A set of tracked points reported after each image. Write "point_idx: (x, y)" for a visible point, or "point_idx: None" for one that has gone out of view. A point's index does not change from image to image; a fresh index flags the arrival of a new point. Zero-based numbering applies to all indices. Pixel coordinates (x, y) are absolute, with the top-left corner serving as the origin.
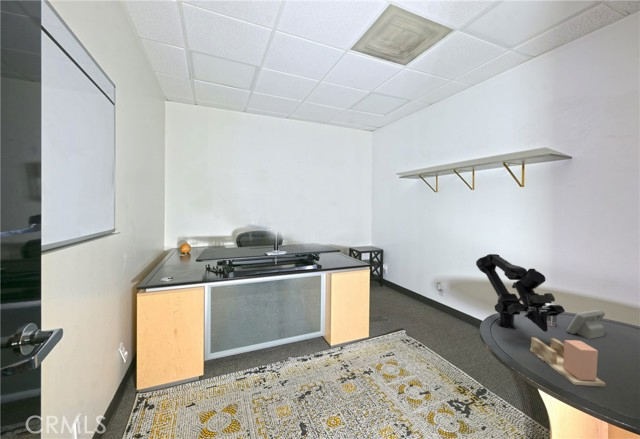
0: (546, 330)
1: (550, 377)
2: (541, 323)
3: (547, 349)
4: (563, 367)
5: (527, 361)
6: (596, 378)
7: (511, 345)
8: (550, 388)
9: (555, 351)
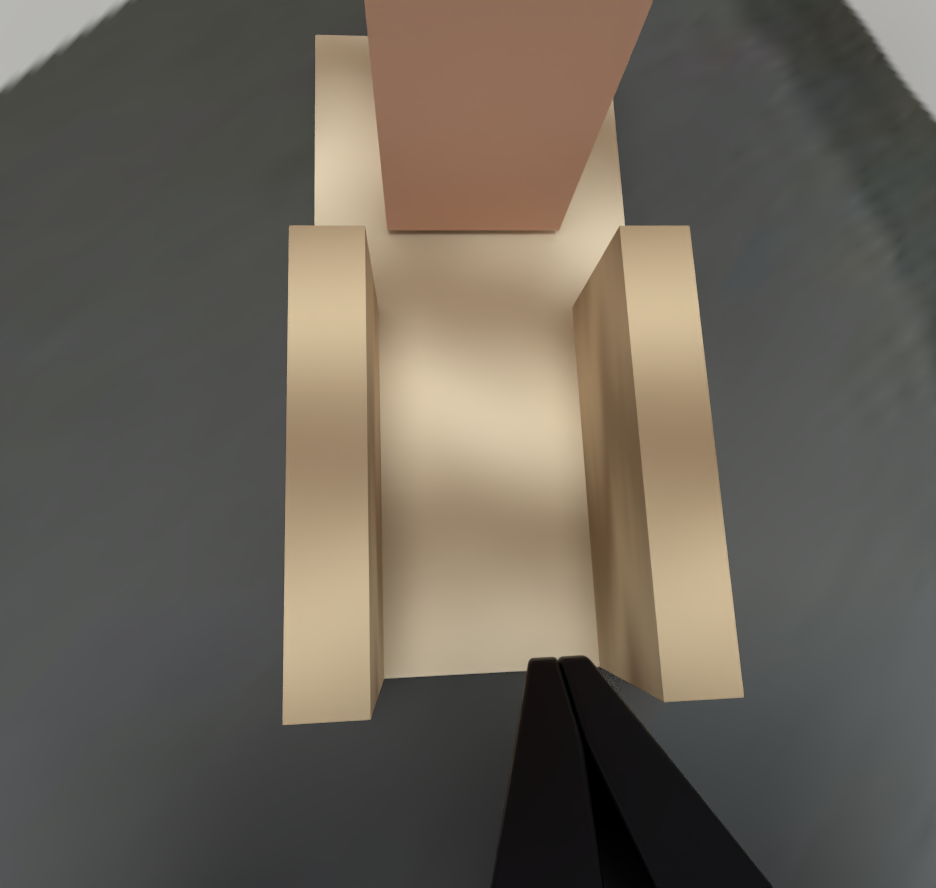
0: (556, 666)
1: (747, 148)
2: (701, 833)
3: (691, 324)
4: (561, 220)
5: (823, 396)
6: (332, 101)
7: (837, 775)
8: (843, 11)
9: (632, 243)
